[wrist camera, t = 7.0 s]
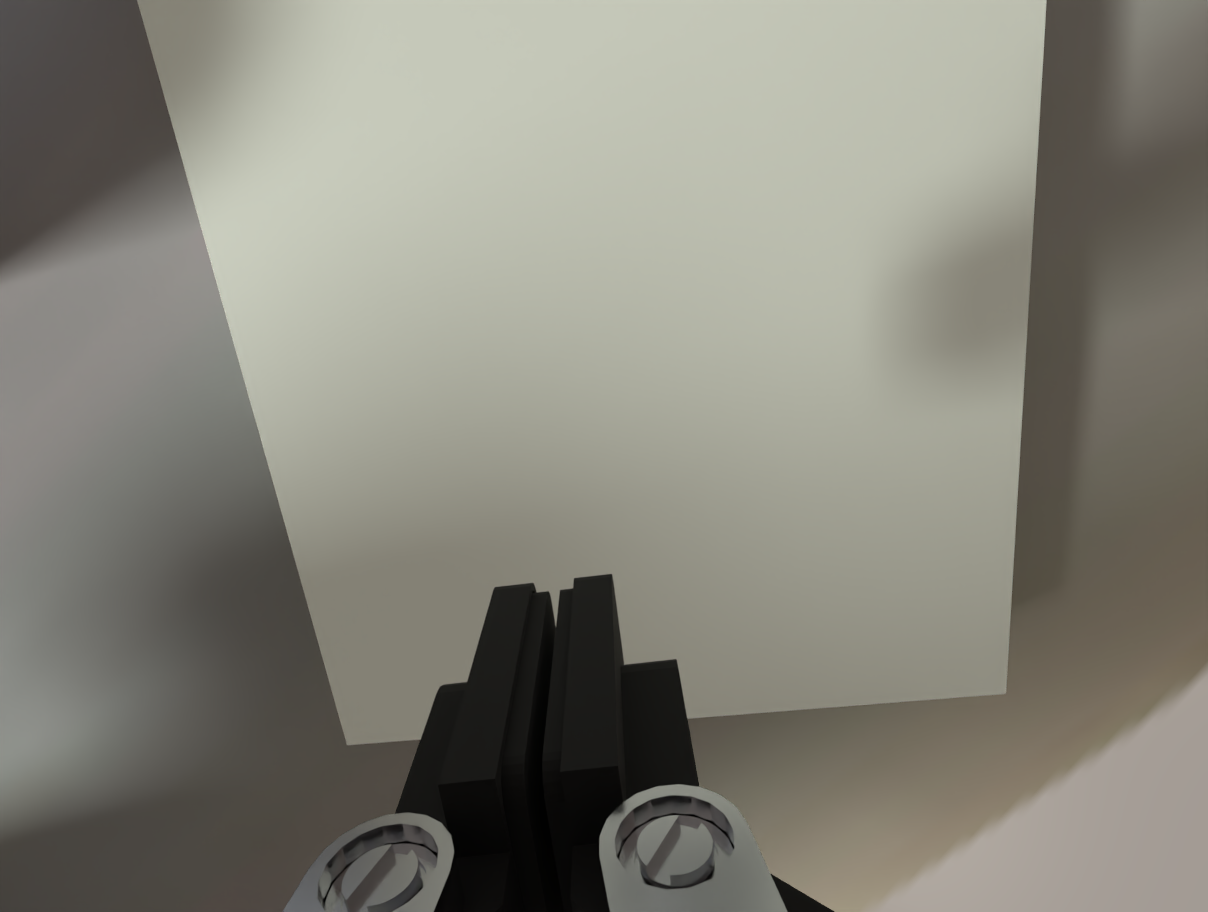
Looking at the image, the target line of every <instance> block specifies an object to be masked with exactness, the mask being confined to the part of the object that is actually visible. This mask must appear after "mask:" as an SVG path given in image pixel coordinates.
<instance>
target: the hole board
mask: <svg viewBox="0 0 1208 912" xmlns="http://www.w3.org/2000/svg"><path fill="white" fill-rule="evenodd" d="M1046 1H1047V0H137V2H138V5H139V9H140V12H141V16H142V19H143V23H144V26H145V30H146V34H147V37H148V41H149V44H150V48H151V51H152V55H153V58H154V62H155V66H156V69H157V73H158V76H159V80H160V83H161V87H162V90H163V94H164V97H165V101H166V105H167V108H168V112H169V115H170V119H171V122H172V126H173V129H174V133H175V137H176V140H177V144H178V147H179V151H180V154H181V158H182V161H183V165H184V168H185V172H186V176H187V179H188V183H189V186H190V190H191V193H192V197H193V200H194V204H195V207H196V211H197V215H198V218H199V222H200V225H201V229H202V232H203V236H204V239H205V243H206V247H207V250H208V254H209V257H210V261H211V264H212V268H213V271H214V275H215V278H216V282H217V286H218V289H219V293H220V296H221V300H222V303H223V307H224V310H225V314H226V317H227V321H228V325H229V328H230V332H231V335H232V339H233V342H234V346H235V349H236V353H237V357H238V360H239V364H240V367H241V371H242V374H243V378H244V381H245V385H246V388H247V392H248V396H249V399H250V403H251V406H252V410H253V413H254V417H255V420H256V424H257V428H258V431H259V435H260V438H261V442H262V445H263V449H264V452H265V456H266V459H267V463H268V467H269V470H270V474H271V477H272V481H273V484H274V488H275V491H276V495H277V498H278V502H279V506H280V509H281V513H282V516H283V520H284V523H285V527H286V530H287V534H288V538H289V541H290V545H291V548H292V552H293V555H294V559H295V562H296V566H297V569H298V573H299V577H300V580H301V584H302V587H303V591H304V594H305V598H306V601H307V605H308V609H309V612H310V616H311V619H312V623H313V626H314V630H315V633H316V637H317V640H318V644H319V648H320V651H321V655H322V658H323V662H324V665H325V669H326V672H327V676H328V679H329V683H330V687H331V690H332V694H333V697H334V701H335V704H336V708H337V711H338V715H339V719H340V722H341V726H342V729H343V733H344V736H345V740H346V743H347V745H358V744H371V743H383V742H396V741H409V740H421V737H422V734H423V731H424V728H425V725H426V722H427V719H428V717H429V714H430V711H431V708H432V705H433V702H434V699H435V696H436V693H437V691H438V689H439V687H440V686H442V685H444V684H453V683H462V682H467V680H468V677H469V673H470V670H471V666H472V663H473V659H474V656H475V652H476V649H477V645H478V642H479V638H480V635H481V631H482V628H483V624H484V621H485V617H486V614H487V610H488V607H489V603H490V600H491V596H492V593H493V590H494V588H495V587H500V586H509V585H517V584H526V583H534V585H535V588H536V592H546V591H549V593H550V596H551V601H552V607H553V613H554V619H555V625H556V623H557V613H558V604H559V594H560V590H563V589H572V588H573V583H574V578H579V577H588V576H597V575H606V574H612V576H613V582H614V589H615V597H616V605H617V612H618V620H619V628H620V635H621V643H622V651H623V658H624V665H626V664H635V663H644V662H653V661H663V660H672V659H676V660H677V664H678V669H679V675H680V680H681V686H682V692H683V697H684V703H685V709H686V714H687V719H691V718H704V717H716V716H729V715H742V714H755V713H768V712H781V711H793V710H806V709H819V708H832V707H845V706H857V705H870V704H883V703H896V702H909V701H921V700H934V699H947V698H960V697H973V696H986V695H998V694H1006V686H1007V669H1008V652H1009V634H1010V617H1011V600H1012V583H1013V566H1014V549H1015V532H1016V515H1017V498H1018V480H1019V463H1020V446H1021V429H1022V412H1023V395H1024V378H1025V361H1026V344H1027V326H1028V309H1029V292H1030V275H1031V258H1032V241H1033V224H1034V207H1035V190H1036V172H1037V155H1038V138H1039V121H1040V104H1041V87H1042V70H1043V53H1044V36H1045V18H1046Z"/></svg>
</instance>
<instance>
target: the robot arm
mask: <svg viewBox="0 0 1208 912" xmlns="http://www.w3.org/2000/svg"><path fill="white" fill-rule="evenodd" d="M283 912H834V911H832V910H831V909H829V908H827V907H826V906H824V905H822V904H821V903H819V902H817V901H815V900H814V899H812V898H810V897H809V896H807V895H805V894H804V893H802V892H800V891H799V890H797V889H795V888H794V887H792V886H790V885H789V884H787V883H785V882H783V881H782V880H780V879H778V878H777V877H775V876H773V875H772V874H770V872H769V870H768V868H767V865H766V863H765V861H764V859H763V856H762V854H761V852H760V850H759V848H758V845H757V843H756V841H755V839H754V837H753V834H752V832H751V830H750V828H749V826H748V823H747V822H746V820H745V819H744V817H743V816H742V814H741V813H740V811H739V810H738V809H737V807H736V806H735V805H733V804H732V803H731V802H729V801H728V800H727V799H725V798H724V797H723V796H721V795H720V794H717V793H715V792H712V791H710V790H707V789H704V788H702V787H699V783H698V777H697V771H696V765H695V760H694V754H693V748H692V743H691V737H690V731H689V726H688V720H687V714H686V709H685V703H684V697H683V692H682V686H681V680H680V675H679V669H678V664H677V660H676V659H672V660H663V661H653V662H644V663H635V664H626V665H624V658H623V651H622V643H621V635H620V628H619V620H618V612H617V605H616V597H615V589H614V582H613V576H612V574H606V575H597V576H588V577H579V578H574V583H573V588H572V589H563V590H560V594H559V604H558V613H557V623H556V625H555V619H554V613H553V607H552V601H551V596H550V593H549V591H546V592H536V588H535V585H534V583H526V584H517V585H509V586H500V587H495V588H494V590H493V593H492V596H491V600H490V603H489V607H488V610H487V614H486V617H485V621H484V624H483V628H482V631H481V635H480V638H479V642H478V645H477V649H476V652H475V656H474V659H473V663H472V666H471V670H470V673H469V677H468V680H467V682H462V683H453V684H444V685H442V686H440V687H439V689H438V691H437V693H436V696H435V699H434V702H433V705H432V708H431V711H430V714H429V717H428V719H427V722H426V725H425V728H424V731H423V734H422V737H421V740H420V743H419V746H418V749H417V752H416V754H415V757H414V760H413V763H412V766H411V769H410V772H409V775H408V778H407V781H406V784H405V787H404V789H403V792H402V795H401V798H400V801H399V804H398V807H397V810H396V813H395V814H389V815H384V816H381V817H378V818H375V819H372V820H369V821H366V822H364V823H362V824H360V825H358V826H356V827H354V828H353V829H351V830H349V831H347V832H345V833H344V834H342V835H341V836H340V837H339V838H337V839H336V840H335V841H334V842H332V843H331V844H330V845H329V846H328V847H326V848H325V849H324V850H323V852H322V853H321V854H320V855H319V857H318V858H317V859H316V860H315V862H314V863H313V864H312V865H311V867H310V868H309V870H308V871H307V873H306V874H305V876H304V878H303V879H302V881H301V883H300V884H299V886H298V887H297V889H296V891H295V892H294V894H293V896H292V897H291V899H290V900H289V902H288V904H287V905H286V907H285V909H284V910H283Z"/></svg>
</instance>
